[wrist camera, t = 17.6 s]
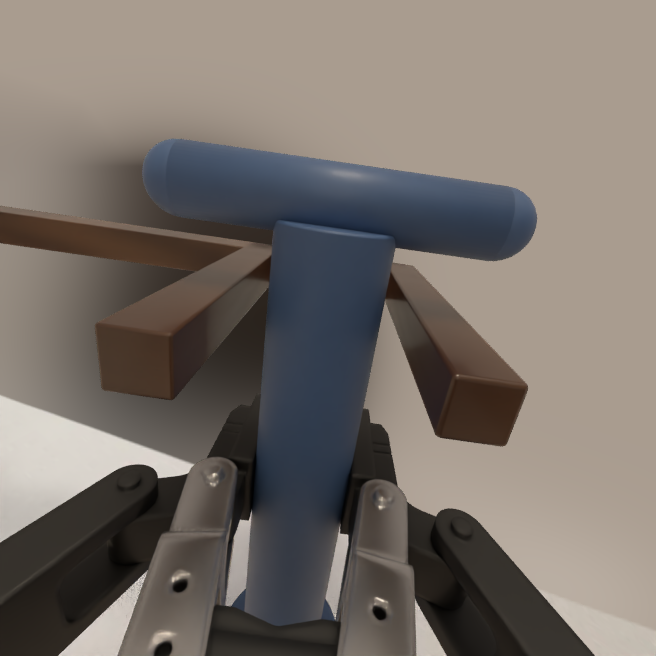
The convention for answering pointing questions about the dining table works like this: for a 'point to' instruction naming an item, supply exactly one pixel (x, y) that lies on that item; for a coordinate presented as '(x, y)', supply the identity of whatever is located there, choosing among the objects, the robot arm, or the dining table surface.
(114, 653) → the dining table surface
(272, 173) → the peg
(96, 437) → the dining table surface
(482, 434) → the stand
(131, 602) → the dining table surface
